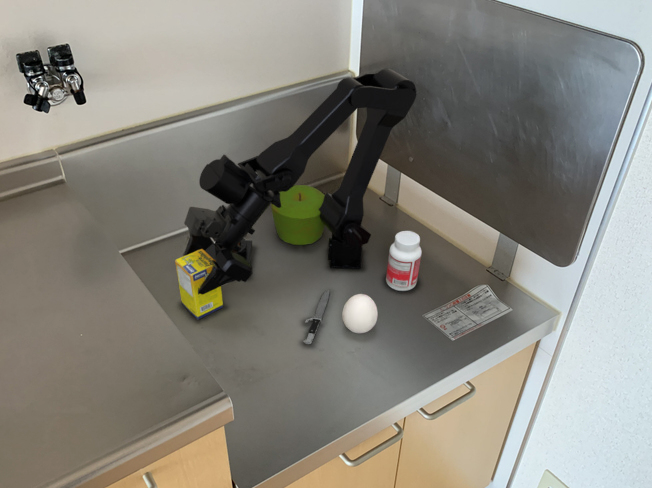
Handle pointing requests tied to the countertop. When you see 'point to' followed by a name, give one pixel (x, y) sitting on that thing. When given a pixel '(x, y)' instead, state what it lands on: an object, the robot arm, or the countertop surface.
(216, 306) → the supplement box
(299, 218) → the apple
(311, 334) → the knife
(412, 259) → the pill bottle
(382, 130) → the robot arm
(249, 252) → the black button base
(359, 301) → the egg
